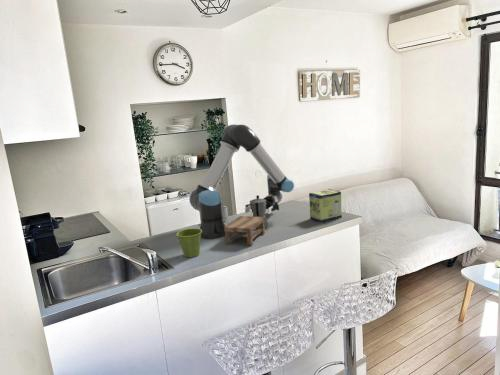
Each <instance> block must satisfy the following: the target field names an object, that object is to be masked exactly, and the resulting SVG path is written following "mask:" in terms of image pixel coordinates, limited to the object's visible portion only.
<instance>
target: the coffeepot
mask: <svg viewBox="0 0 500 375" xmlns="http://www.w3.org/2000/svg"><path fill="white" fill-rule="evenodd" d="M249 204H250V205H251V210H250V211H251V213H252V217H264V220H265V221H264V226H265V229H266V228H268V226H269V224H268V220H267V216H266V210H267V209H266V200H265V199H264V198H260V196H259V195H256V196H255V198H254V199H251V200H249ZM259 229H260V225H259V226H258V227H256V228H255V229H254V230H259Z"/></svg>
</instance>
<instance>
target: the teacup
mask: <svg viewBox="0 0 500 375" xmlns="http://www.w3.org/2000/svg"><path fill="white" fill-rule="evenodd" d="M228 212H229V211H228V206H226V205H223V206H222V216H223V221H224V222H225V221H226V220H228V217H229V213H228Z"/></svg>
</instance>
